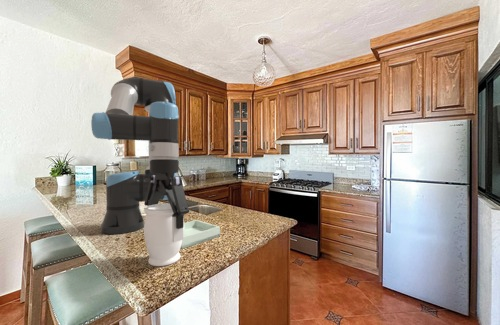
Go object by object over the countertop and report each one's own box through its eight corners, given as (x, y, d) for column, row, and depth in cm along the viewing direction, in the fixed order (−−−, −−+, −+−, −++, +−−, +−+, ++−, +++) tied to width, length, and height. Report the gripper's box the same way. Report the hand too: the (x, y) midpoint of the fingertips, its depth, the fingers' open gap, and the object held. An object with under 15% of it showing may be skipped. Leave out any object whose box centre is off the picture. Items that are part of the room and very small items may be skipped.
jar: (171, 270, 55) (170, 211, 55) (135, 266, 57) (134, 209, 57) (190, 253, 65) (190, 203, 65) (159, 250, 67) (159, 202, 67)
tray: (160, 238, 78) (160, 228, 78) (196, 228, 89) (196, 219, 89) (182, 249, 68) (182, 237, 68) (219, 236, 80) (219, 226, 80)
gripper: (132, 159, 66) (132, 229, 66) (175, 157, 50) (176, 250, 50) (156, 159, 72) (156, 224, 72) (202, 158, 55) (203, 241, 55)
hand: (164, 235), depth 61 cm, fingers open, 13 cm apart
